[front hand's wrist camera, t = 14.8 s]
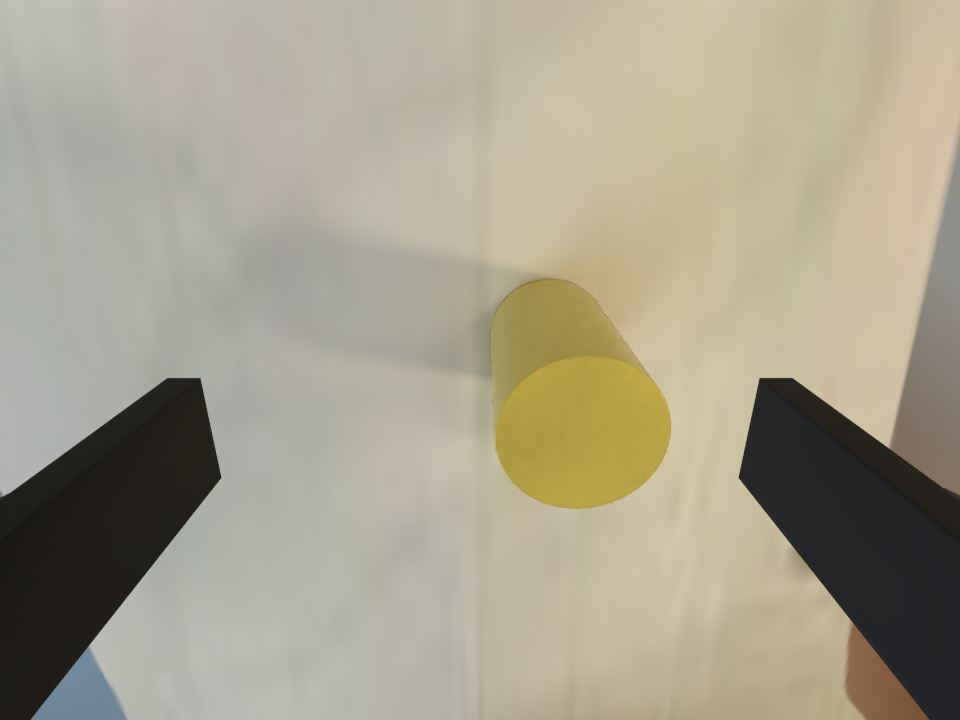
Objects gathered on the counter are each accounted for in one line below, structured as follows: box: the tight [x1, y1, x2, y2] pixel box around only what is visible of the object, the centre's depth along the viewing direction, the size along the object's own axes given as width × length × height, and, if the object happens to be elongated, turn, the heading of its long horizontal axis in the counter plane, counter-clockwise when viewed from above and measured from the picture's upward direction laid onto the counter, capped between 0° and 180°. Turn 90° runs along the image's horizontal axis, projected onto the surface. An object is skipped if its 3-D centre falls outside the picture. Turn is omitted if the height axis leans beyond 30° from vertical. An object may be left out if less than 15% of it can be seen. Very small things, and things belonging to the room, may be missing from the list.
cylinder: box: [490, 279, 671, 509], centre depth 27 cm, size 7×7×12 cm
